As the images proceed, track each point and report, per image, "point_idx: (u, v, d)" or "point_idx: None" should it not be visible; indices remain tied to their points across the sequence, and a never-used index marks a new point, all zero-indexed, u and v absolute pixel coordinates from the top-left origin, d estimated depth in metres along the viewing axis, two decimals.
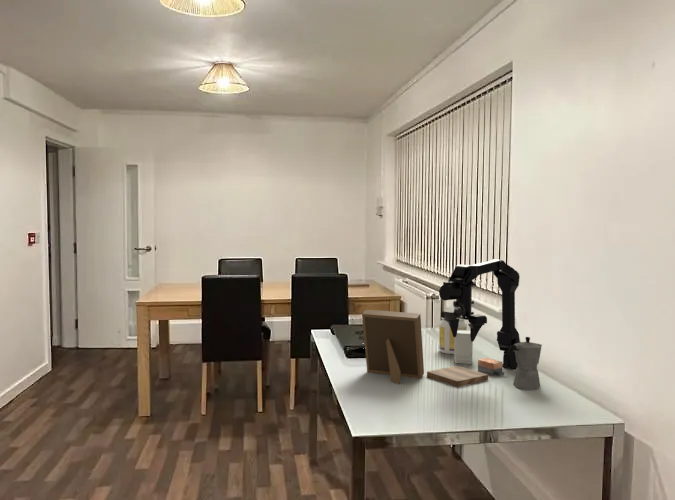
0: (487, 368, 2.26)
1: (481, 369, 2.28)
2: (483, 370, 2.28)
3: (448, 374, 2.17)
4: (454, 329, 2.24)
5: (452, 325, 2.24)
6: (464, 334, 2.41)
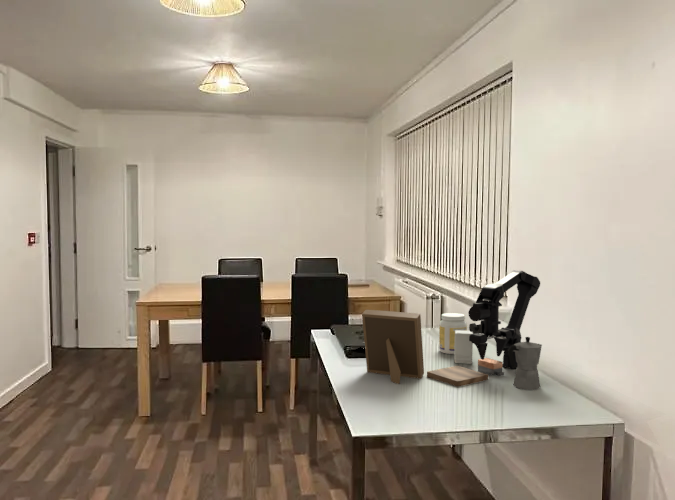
0: (487, 368, 2.26)
1: (481, 369, 2.28)
2: (483, 370, 2.28)
3: (448, 374, 2.17)
4: (498, 348, 2.31)
5: (497, 344, 2.31)
6: (464, 334, 2.41)
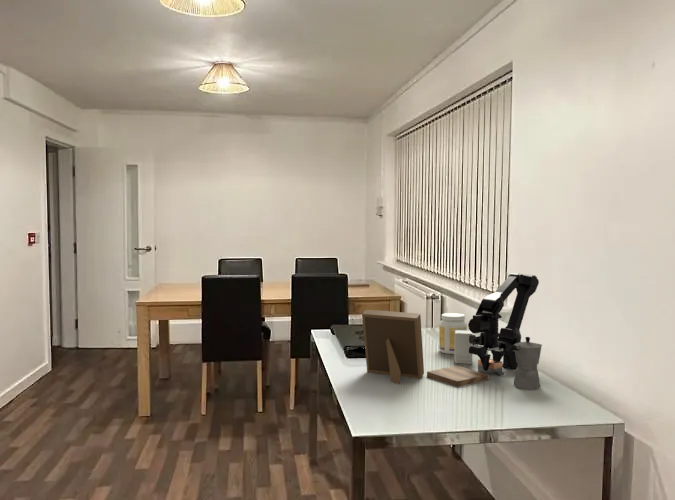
0: (487, 368, 2.26)
1: (481, 369, 2.28)
2: (483, 370, 2.28)
3: (448, 374, 2.17)
4: None
5: (493, 356, 2.30)
6: (464, 334, 2.41)
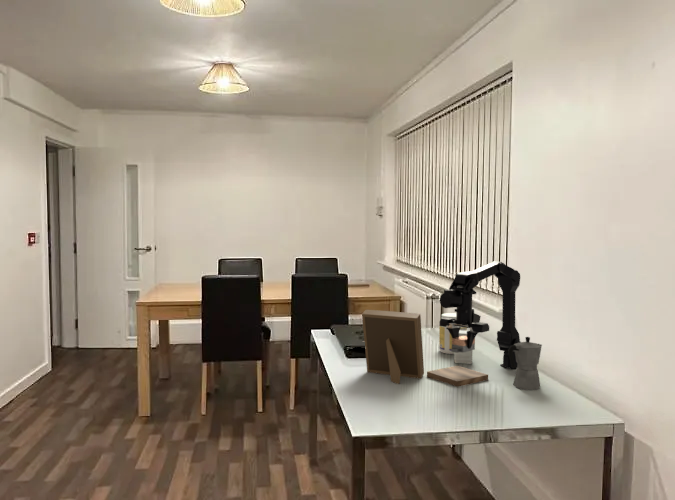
0: None
1: None
2: None
3: (448, 374, 2.17)
4: None
5: None
6: (464, 334, 2.41)
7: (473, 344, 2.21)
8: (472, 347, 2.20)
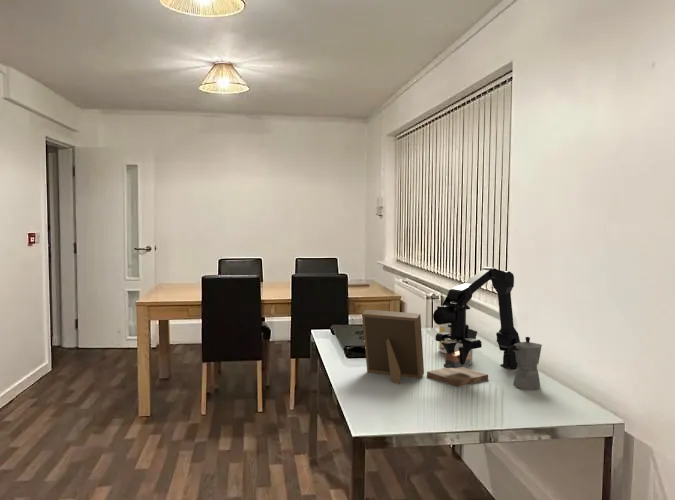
0: None
1: None
2: None
3: (448, 374, 2.17)
4: None
5: None
6: None
7: (468, 360, 2.19)
8: (467, 363, 2.19)
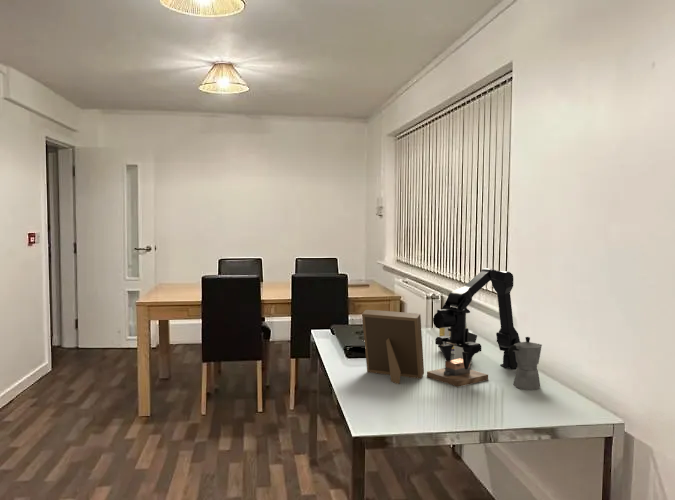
0: None
1: None
2: None
3: None
4: None
5: None
6: None
7: (468, 367, 2.19)
8: (466, 370, 2.19)
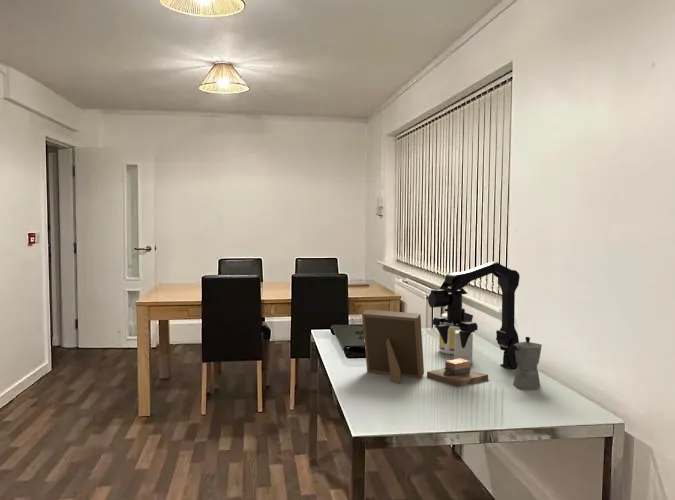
0: None
1: None
2: None
3: None
4: None
5: None
6: None
7: (468, 367, 2.19)
8: (466, 370, 2.19)
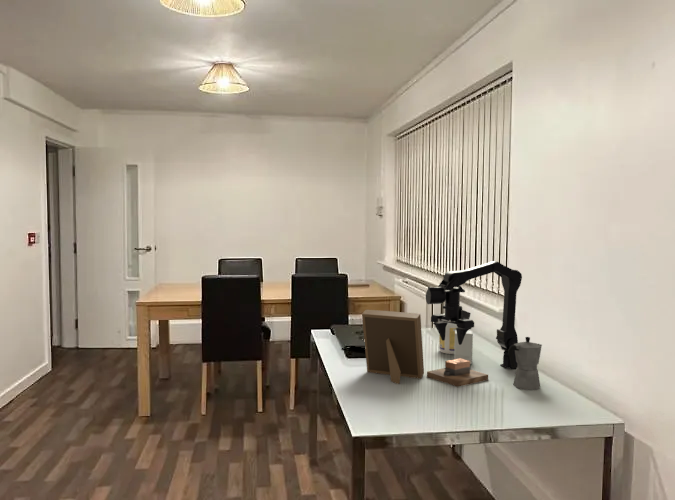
0: None
1: None
2: None
3: None
4: None
5: None
6: None
7: (468, 367, 2.19)
8: (466, 370, 2.19)
